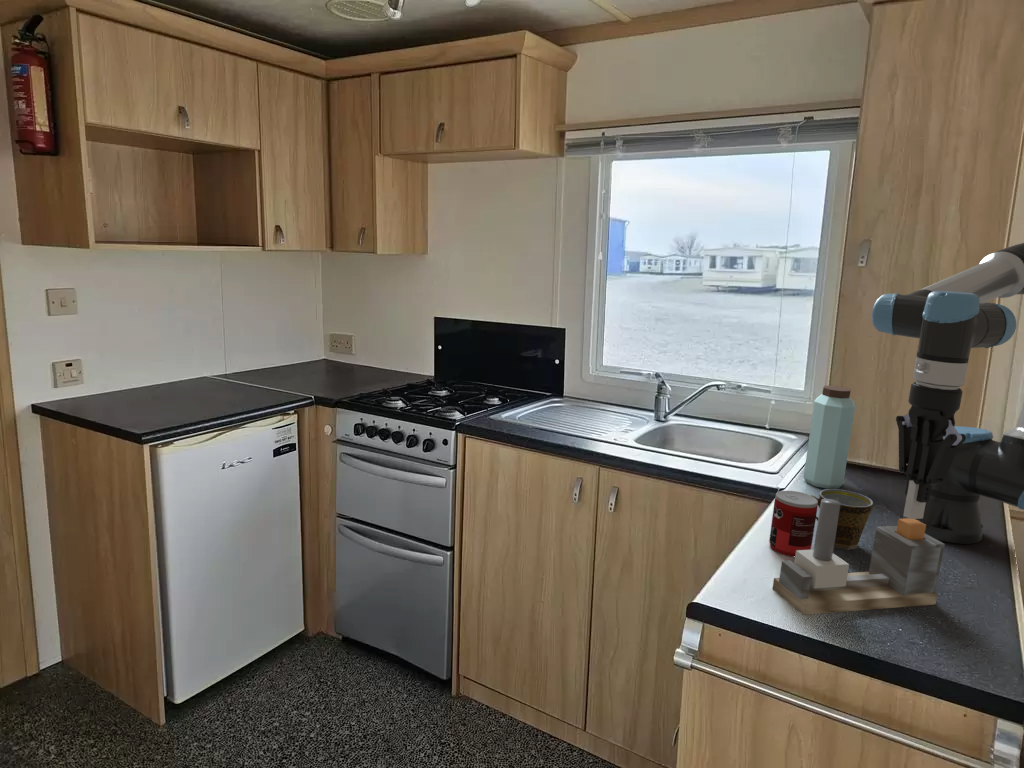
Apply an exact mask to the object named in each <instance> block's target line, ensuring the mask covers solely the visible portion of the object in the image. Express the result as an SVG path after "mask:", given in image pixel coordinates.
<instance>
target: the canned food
mask: <svg viewBox="0 0 1024 768" xmlns="http://www.w3.org/2000/svg"><path fill="white" fill-rule="evenodd" d="M812 496H813V495H812ZM812 496H810V494H807V493H804V492H800V491H797V490H779V491H777V492H776V493H775V497H774V502H773V511H772V518H771V525H770V532H769V533H770V534H769V540H768V542H769V546H770V548H771V549H772V550H773V551H775V552H777V553H778V552H779V553H778V554H781V555H783V554H784V556H787V555H788V556H787V557H791V556H795V555H796V550H812V546H813V544H812V543H813V538H814V532H815V525H816V520H817V519H816V517H817V513H818V508H819V506H818V500H817V499H816V498H814V497H812Z"/></svg>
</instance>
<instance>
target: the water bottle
mask: <svg viewBox="0 0 1024 768" xmlns="http://www.w3.org/2000/svg"><path fill="white" fill-rule="evenodd" d="M851 391H852V389H851V388H848V387H845V386H838V385H824V386H823V389H822V393H821V394H820V395H819V396H817V397H816V398H815V399H814V401H813V402H814V403H813V411H812V416H811V421H810V422H811V423H810V430H809V438H808V444H807V449H806V450H807V451H806V457H805V464H804V471H803V480H804V481H805V482H806V483H807V484H810V485H811V486H813V487H817V488H822V489H825V490H826V489H840V487H842V486H843V484H844V481H845V474H846V467H847V462H848V455H849V449H850V442H851V438H852V437H851V435H852V431H853V430H852V429H853V424H854V418H855V411H856V403H855V402H854V399H852V397H851Z"/></svg>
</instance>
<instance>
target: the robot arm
mask: <svg viewBox="0 0 1024 768" xmlns="http://www.w3.org/2000/svg"><path fill="white" fill-rule="evenodd" d="M1016 295H1024V242H1021V243H1018V244H1014V245H1011V246H1008V247H1005V248H1002V249H999V250H996V251H995V252H993V253H989V254H988V255H986V256H984V257H983V258H982V259H981V261H980V262H979V264H977V265H974V266H972V267H969V268H967V269H965V270H962V271H960V272H958V273H956V274H953V275H951V276H948V277H946V278H944V279H941V280H939V281H936V282H934V283H932V284H930V285H927V286H925V287H923V288H920V289H918V290H915V291H913V292H910V293H908V294H900V293H899V292H898V293H896V292H895V293H884V294H882V295H880V297H878V298H877V299H876V300H875V302H874V305H873V308H872V309H871V310H872V311H871V321H872V325H873V327H874V329H876V330H877V331H878V332H881V333H885V334H890V335H892V336H900V337H901V336H902V337H907V338H915V339H919V340H918V346H917V352H916V356H915V357H916V358H915V362H914V367H913V368H914V369H913V373H912V379H913V380H914V381H913V383H910V384H911V385H910V390H909V395H908V403H909V405H911V406H910V408H909V409H908V413H907V414H904V415H897V416H896V417H895V422H896V425H897V429H898V470H899V472H900V473H904V474H905V476H906V486H905V491H904V493H905V496H906V498H905V505H904V508H903V509H904V510H903V517H902V519H905V518H909V519H916V520H918V521H920V522H921V523H923V524H925V525H926V528H925V534H927V535H929V536H931V537H933V538H934V539H936V540H938V541H940V542H946V543H951V544H952V543H953V544H963V545H965V544H967V545H969V544H976V543H979V542H981V540H983V534H984V526H983V524H982V517H981V516H982V515H981V508H980V500H981V496H982V497H985V498H988V499H991V500H993V501H994V500H995V501H996V502H997V501H998V502H1001V503H1004V504H1006V505H1009V506H1012V507H1015V508H1018V509H1019V510H1023V511H1024V402H1022V407H1021V409H1020V413H1019V415H1018V419H1017V420H1016V424H1015V427H1014V428H1012V429H1010V430H1007V432H1004V433H1003V435H1002V438H1001V440H1000V441H997V440H993V439H994V435H993V432H992V431H990V430H988V429H985V428H980V427H971V426H960V425H956V421H955V413H957V411H959V409H960V407H961V403H962V398H963V390H962V388H960V387H963V386H965V383H966V376H967V370H968V363H969V358H970V354H971V351H972V350H971V349H977V348H984V349H989V348H993V347H997V346H1001V345H1004V344H1005V343H1007V342H1008V341H1010V339H1011V338H1012V337H1013V335H1014V334H1015V332H1016V329H1017V320H1016V316H1015V315H1014V313H1013V311H1012V309H1010V308H1009V307H1007V306H1005V305H1004V304H1003V305H1002V304H999V303H993V302H990V301H993V300H995V299H997V298H999V299H1000V298H1001V299H1005V298H1011V297H1013V296H1016Z"/></svg>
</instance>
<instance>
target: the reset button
mask: <svg viewBox="0 0 1024 768" xmlns="http://www.w3.org/2000/svg"><path fill="white" fill-rule="evenodd" d="M897 520H898V521H897V525H896V526H897V531H896V533H897V534H899V535H901V536H902V537H904V538H906V539H908V540H919V539H924V534H925V528H926V525H925V524H923V523H921V522H920V521H918V520H916V519H909V518H905V519H903V518H898V519H897Z"/></svg>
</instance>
